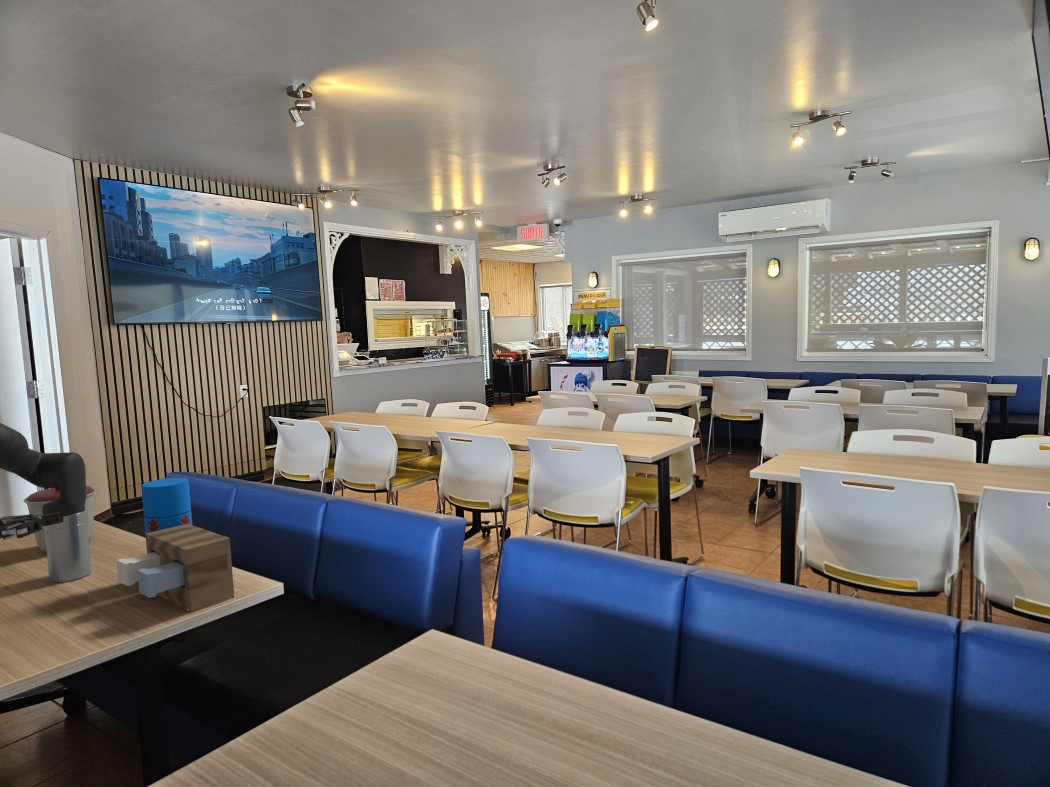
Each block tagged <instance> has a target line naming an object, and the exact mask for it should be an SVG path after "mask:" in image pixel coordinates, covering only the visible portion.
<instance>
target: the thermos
mask: <svg viewBox="0 0 1050 787" xmlns="http://www.w3.org/2000/svg"><path fill="white" fill-rule="evenodd" d="M141 499H142V509H143V510H142V511H143V521H144V532H145V534H146V533H150V532H155V531H159V530H163V529H167V528H171V527H175V526H179V525H183V524H190V525H193V517H192V516H193V515H192V507H191V506H192V504H191V496H190V485H189V480H188V478H184V477H172V478H164V479H163V478H162V479H155V480H151V481H148V482H144V483H143V484H142V486H141Z"/></svg>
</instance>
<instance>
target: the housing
mask: <svg viewBox="0 0 1050 787" xmlns="http://www.w3.org/2000/svg"><path fill="white" fill-rule="evenodd" d="M144 536H145V546H146V554H148V553H152V552H158V553H160V558H161V565H165V564H168V563H172V562H175V561H179V562H182V563H183V570H184V581H185V585H182V586H179V587H176V588H173V589H170V590H166V591H163V592H160V593H157V596H159V597H162V598H163V599H166V600H167V601H169V602H171V603H173V604H175V605H177V606H179V607H180V608H182V607H183V608H182V609H184V608H185V609H184V610H186V609H188V610H189V611H188V610H187V611H188V612H190V611H191V612H190V613H193V612H192V611H194V612H196V611H199V610H201V609H205V608H208V607H210V606H214V605H217V604H219V603H221V602H225V601H227V599H228V600H230V598H231V599H233V597H234V598H235V588H234V578H233V577H234V576H233V575H234V574H233V563H232V550H231V540H230V538H231V537H228V536H225V535H221V534H219V533H216V532H212V531H210V530H208V529H204V528H201V527H198V526H196V525H193V524H192V525H190V524H183V525H179V526H175V527H171V528H167V529H163V530H159V531H155V532H150V533H145V535H144ZM198 609H199V610H198ZM195 610H196V611H195Z"/></svg>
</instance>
